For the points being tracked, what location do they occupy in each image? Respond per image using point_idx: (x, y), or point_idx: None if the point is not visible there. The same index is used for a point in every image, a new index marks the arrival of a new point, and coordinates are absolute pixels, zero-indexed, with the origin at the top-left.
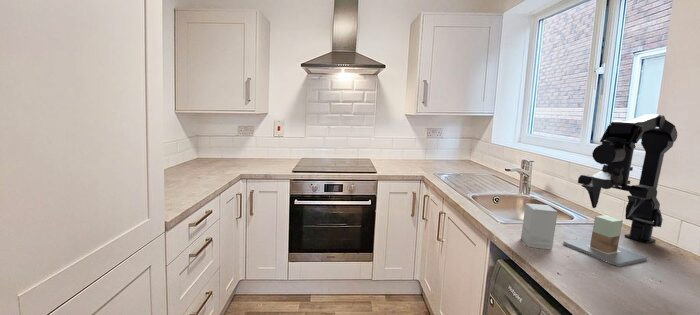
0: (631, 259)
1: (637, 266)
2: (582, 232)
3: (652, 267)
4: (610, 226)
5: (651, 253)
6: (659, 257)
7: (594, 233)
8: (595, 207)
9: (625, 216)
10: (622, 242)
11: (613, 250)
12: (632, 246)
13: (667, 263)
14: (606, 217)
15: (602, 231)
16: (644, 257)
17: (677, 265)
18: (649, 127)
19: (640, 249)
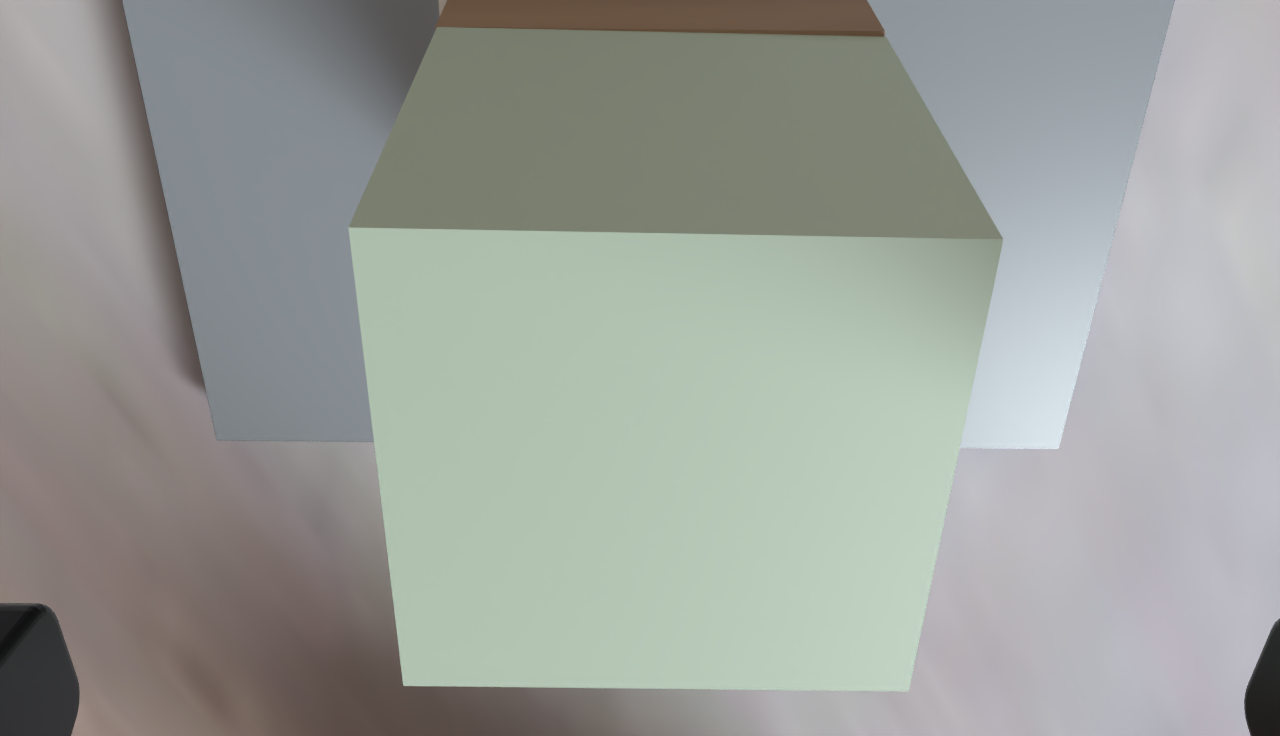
0: (174, 93)
1: (55, 18)
2: (1249, 585)
3: (6, 227)
4: (430, 150)
5: (394, 692)
6: (277, 658)
7: (819, 17)
8: (1256, 705)
9: (21, 608)
10: (757, 720)
11: None
12: (623, 704)
13: (109, 563)
14: (747, 502)
15: (638, 60)
16: (210, 393)
17: None
18: None
19: (523, 697)
